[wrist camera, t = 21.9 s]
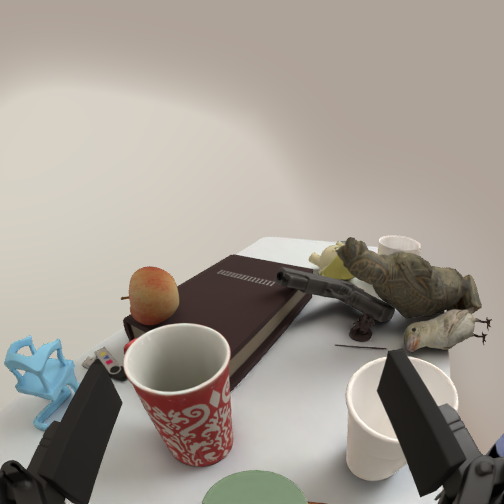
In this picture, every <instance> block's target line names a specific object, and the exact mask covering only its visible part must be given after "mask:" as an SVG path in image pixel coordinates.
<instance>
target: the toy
mask: <svg viewBox="0 0 504 504" xmlns="http://www.w3.org/2000/svg"><path fill="white" fill-rule="evenodd" d="M343 245H345V244H343V243H342V242H337V243H336V245H332V246H329V247H327V248H326V249H325V250H324V251H323V252H322V254H321V256H319V255H318V254H316V253H315V252H314V253H312V254H311V256H310V257H309V262H311V263H313V264H315V265H317V266H318V267H320V268H321V269H320V270H319V274H320V275H322V276H326V277H330V278H334V279H338V280H339V279H343V280H348V279H352V278H354V276H353V275H352V274H351V273H350V272H349V271H348V269H347V268H346V267H345V266H344V265H343V261H342V260H341V259H340V258H339V257H338V255H337V250H338V249H339V247H341V246H343Z"/></svg>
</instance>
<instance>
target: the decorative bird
mask: <svg viewBox="0 0 504 504" xmlns="http://www.w3.org/2000/svg"><path fill="white" fill-rule="evenodd" d="M473 309H474V307H473V308H471V309H470V308H469V309H467V310H466V309H465V310H457V309H455V310H450V311H447V312H446V313H444V314H440V315H439V316H437V317H435V318H433V319H431V320H427V321H421V322H415V323H413V324H411V325H409V326H408V328H407V329H406V331H405V334H404V344H405V346H406V348H407V349H408V350H409V351H410V352H414V351H415V350H417V349H419V348H422V347H425V346H428V347H430V348H438V349H442V350H448V349H450V348H452V347H453V346H454V345H456V344H457V343H459V342H462V341H463V340H465V339H467V338H469V337H472V336H475V337H483V343H484V341H485V336H486V334H483V333H482V335H483V336H478V335H476V334H474V333H473V331H474V323H475V322H481V323H487V328H488V326H489V327H490V325H489V324H490V321H491V320H492V319H491V320H488V319H486V320H487V321H481V320H479V319H477V318H474V317H473V316H472V313H473V312H474V310H473ZM485 342H486V341H485Z"/></svg>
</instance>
